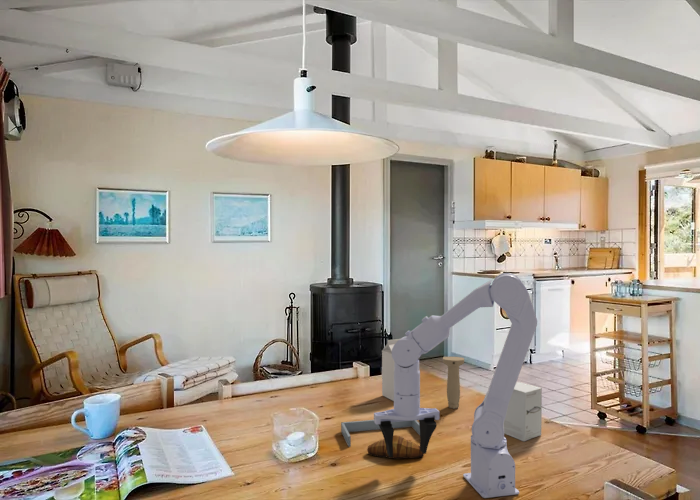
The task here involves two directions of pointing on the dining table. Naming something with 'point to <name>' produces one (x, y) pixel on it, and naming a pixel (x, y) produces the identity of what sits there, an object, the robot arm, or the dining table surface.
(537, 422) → the supplement box
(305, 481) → the dining table surface
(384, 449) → the croissant
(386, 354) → the milk carton
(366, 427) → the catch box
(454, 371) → the handle
